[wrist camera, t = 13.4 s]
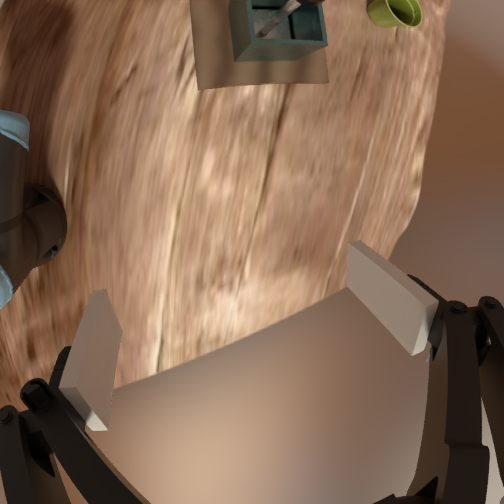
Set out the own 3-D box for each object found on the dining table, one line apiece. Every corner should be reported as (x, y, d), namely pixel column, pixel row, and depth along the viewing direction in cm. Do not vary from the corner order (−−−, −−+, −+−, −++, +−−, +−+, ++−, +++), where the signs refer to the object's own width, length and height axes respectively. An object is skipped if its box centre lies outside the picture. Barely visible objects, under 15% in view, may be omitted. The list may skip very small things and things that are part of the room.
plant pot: (398, 9, 41) (424, 1, 33) (393, 41, 44) (421, 36, 36) (362, -11, 38) (387, -24, 30) (357, 22, 41) (383, 11, 34)
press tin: (233, 62, 40) (251, 43, 29) (228, 8, 35) (243, -22, 25) (295, 60, 41) (327, 45, 31) (288, 9, 37) (318, -16, 26)
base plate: (198, 90, 42) (198, 88, 40) (189, -3, 34) (189, -7, 33) (323, 83, 46) (328, 82, 44) (312, -2, 38) (317, -5, 36)
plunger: (241, 54, 38) (284, 10, 20) (236, 11, 35) (274, -51, 17) (291, 53, 40) (359, 20, 22) (285, 11, 36) (346, -39, 18)
